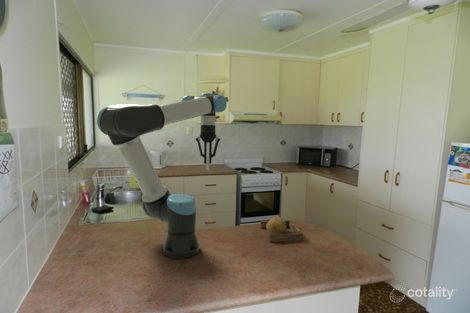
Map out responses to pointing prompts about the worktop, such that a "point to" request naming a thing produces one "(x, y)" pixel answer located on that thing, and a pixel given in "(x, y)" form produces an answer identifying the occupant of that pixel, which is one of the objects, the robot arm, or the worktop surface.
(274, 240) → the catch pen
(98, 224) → the worktop surface
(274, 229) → the potato
